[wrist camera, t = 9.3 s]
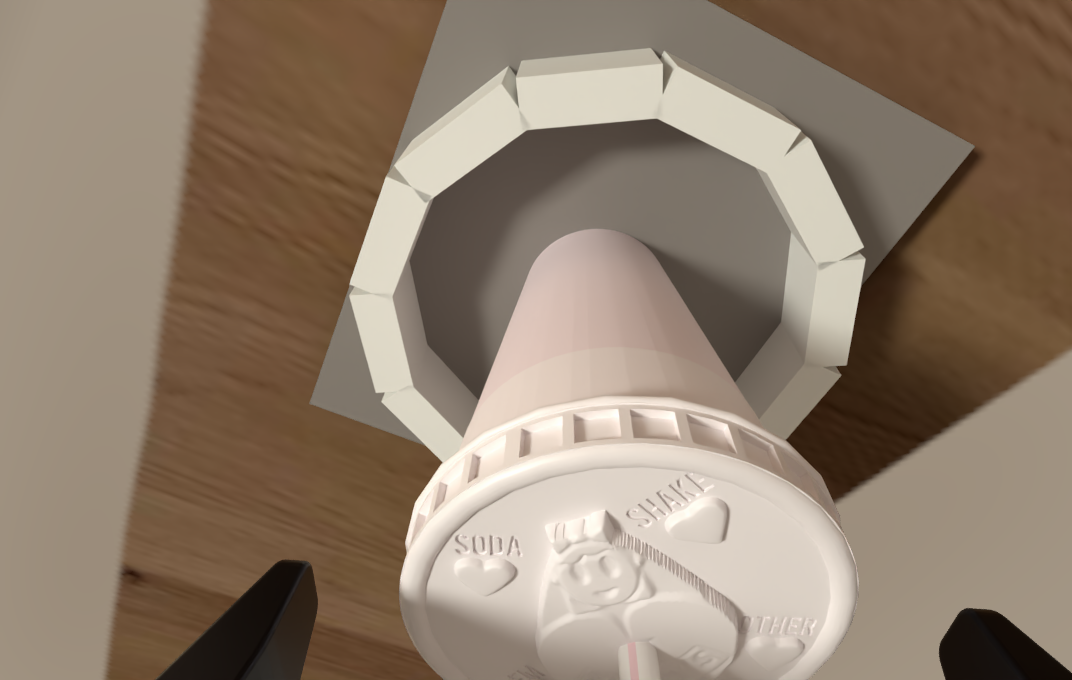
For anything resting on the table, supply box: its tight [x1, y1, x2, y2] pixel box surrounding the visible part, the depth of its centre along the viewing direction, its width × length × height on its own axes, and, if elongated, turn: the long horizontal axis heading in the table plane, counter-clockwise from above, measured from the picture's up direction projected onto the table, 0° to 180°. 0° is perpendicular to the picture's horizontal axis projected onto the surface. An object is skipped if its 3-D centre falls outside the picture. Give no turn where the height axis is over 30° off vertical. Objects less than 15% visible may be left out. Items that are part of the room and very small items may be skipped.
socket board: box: [310, 0, 975, 463], centre depth 17 cm, size 14×12×3 cm
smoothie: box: [399, 229, 859, 680], centre depth 11 cm, size 6×6×14 cm
